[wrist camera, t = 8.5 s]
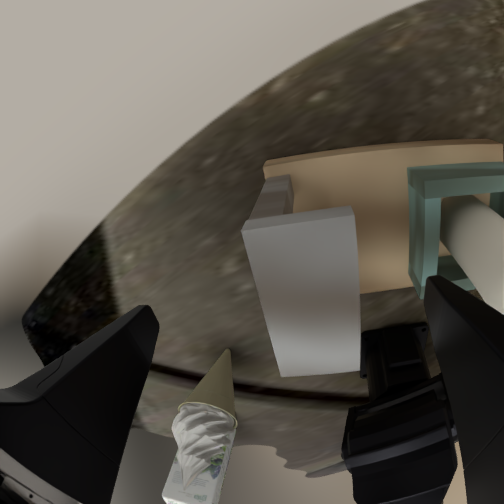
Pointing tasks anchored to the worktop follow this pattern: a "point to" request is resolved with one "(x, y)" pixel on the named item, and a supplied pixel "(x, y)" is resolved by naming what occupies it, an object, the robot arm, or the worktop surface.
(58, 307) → the worktop surface
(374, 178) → the socket board
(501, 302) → the peg
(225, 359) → the ice cream cone
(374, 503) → the robot arm
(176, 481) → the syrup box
